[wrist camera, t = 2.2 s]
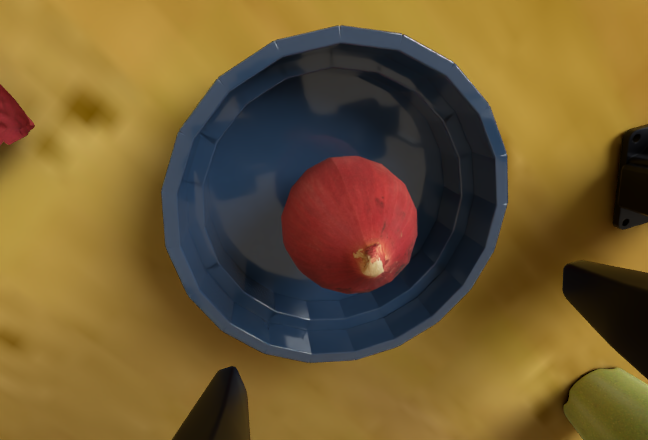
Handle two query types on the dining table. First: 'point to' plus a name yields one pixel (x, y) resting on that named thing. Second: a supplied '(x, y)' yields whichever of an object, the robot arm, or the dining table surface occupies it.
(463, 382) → the dining table surface
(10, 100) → the plate with food
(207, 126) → the bowl
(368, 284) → the onion
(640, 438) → the plant pot
